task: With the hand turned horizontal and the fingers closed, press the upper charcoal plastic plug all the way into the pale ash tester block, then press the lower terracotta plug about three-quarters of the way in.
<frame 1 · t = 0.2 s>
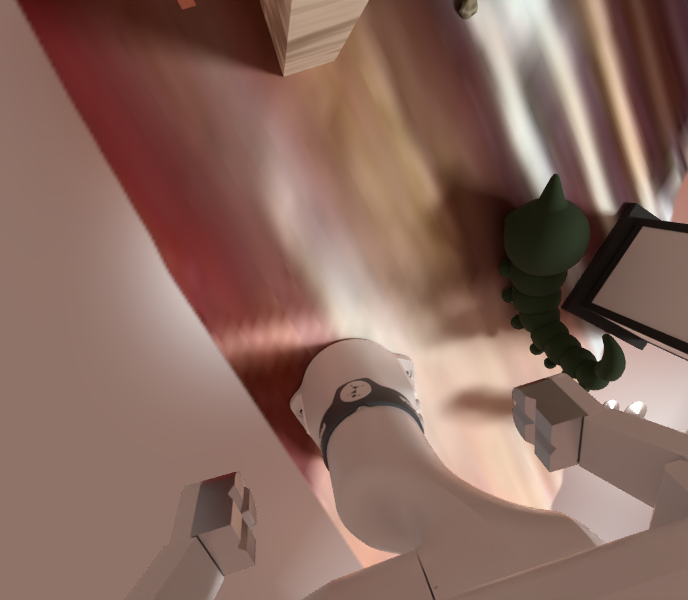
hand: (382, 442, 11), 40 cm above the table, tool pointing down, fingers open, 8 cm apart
lantern: (632, 279, 60), on the table
goblet set: (582, 405, 67), on the table
toy figurine: (517, 263, 56), on the table
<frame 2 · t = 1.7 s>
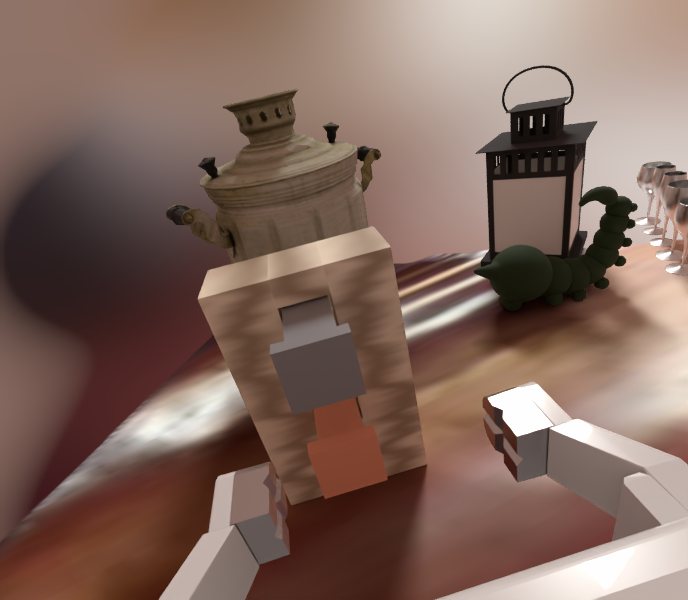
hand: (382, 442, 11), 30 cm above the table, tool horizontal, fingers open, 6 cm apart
lantern: (534, 251, 84), on the table
goblet set: (661, 243, 76), on the table
charcoal plug: (314, 340, 31), point 22 cm above the table, slide at 0.0 cm
toy figurine: (548, 300, 67), on the table
tester block: (354, 463, 47), on the table
terracotta plug: (340, 427, 36), point 12 cm above the table, slide at 0.0 cm
samovar: (328, 355, 67), on the table
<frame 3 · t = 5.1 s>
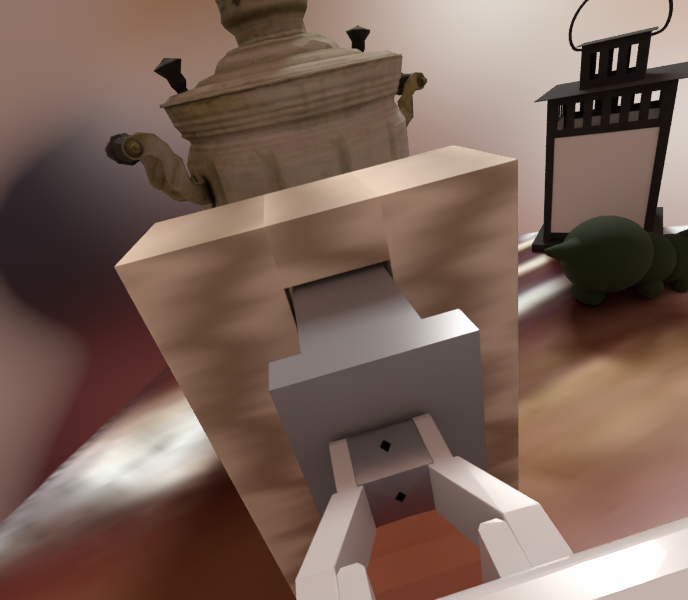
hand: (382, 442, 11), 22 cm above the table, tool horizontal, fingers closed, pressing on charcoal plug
lantern: (597, 232, 67), on the table
charcoal plug: (359, 348, 15), point 22 cm above the table, slide at 0.4 cm, touching gripper
toy figurine: (636, 291, 51), on the table
tester block: (400, 536, 30), on the table
terracotta plug: (399, 509, 20), point 12 cm above the table, slide at 0.0 cm
samovar: (347, 364, 51), on the table
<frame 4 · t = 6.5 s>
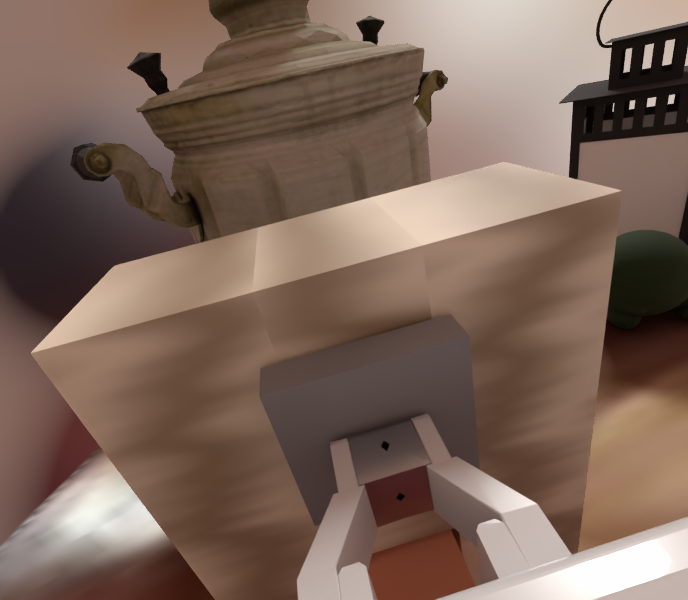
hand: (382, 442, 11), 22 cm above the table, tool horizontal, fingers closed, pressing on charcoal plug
lantern: (622, 244, 62), on the table
charcoal plug: (353, 352, 15), point 22 cm above the table, slide at 5.8 cm, touching gripper
toy figurine: (674, 312, 46), on the table
samovar: (354, 393, 46), on the table
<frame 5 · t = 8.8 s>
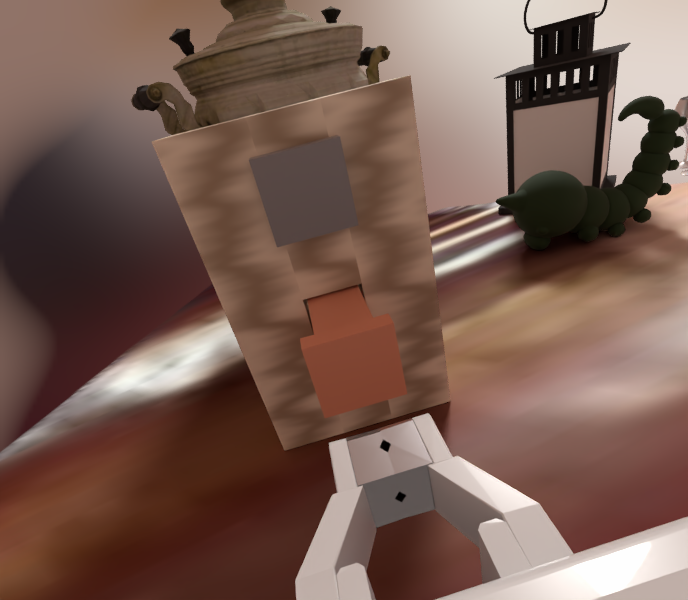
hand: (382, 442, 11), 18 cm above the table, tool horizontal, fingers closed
lantern: (557, 198, 75), on the table
charcoal plug: (301, 182, 29), point 22 cm above the table, slide at 5.8 cm
toy figurine: (579, 238, 59), on the table
tester block: (361, 403, 39), on the table
terracotta plug: (344, 334, 28), point 12 cm above the table, slide at 0.0 cm
samovar: (330, 302, 59), on the table
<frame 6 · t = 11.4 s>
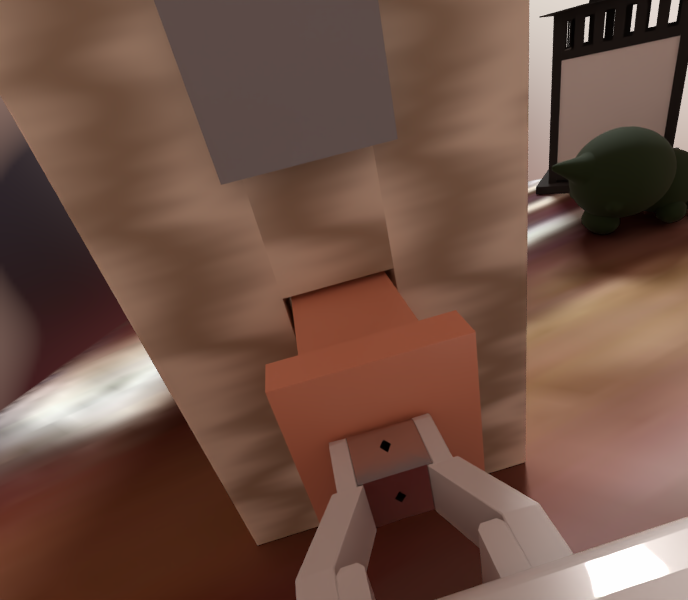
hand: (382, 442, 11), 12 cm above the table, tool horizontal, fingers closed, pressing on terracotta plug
lantern: (607, 175, 62), on the table
charcoal plug: (279, 69, 15), point 22 cm above the table, slide at 5.8 cm
toy figurine: (654, 220, 46), on the table
tester block: (380, 460, 25), on the table
terracotta plug: (357, 349, 15), point 12 cm above the table, slide at 1.2 cm, touching gripper
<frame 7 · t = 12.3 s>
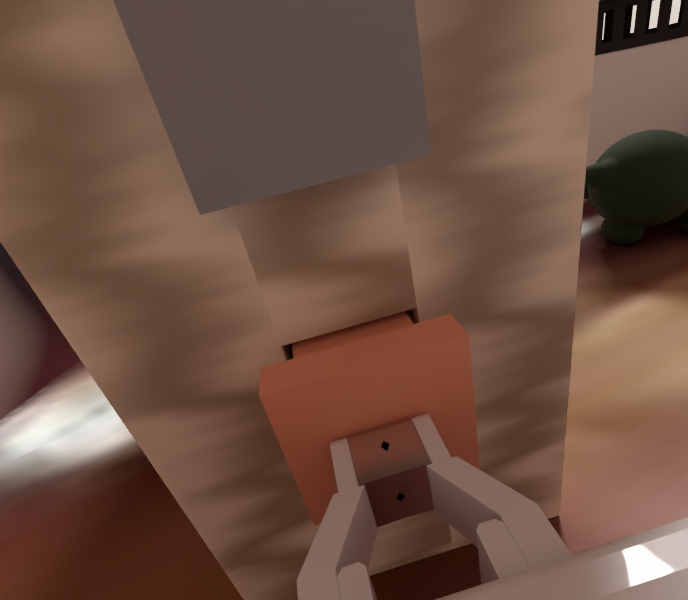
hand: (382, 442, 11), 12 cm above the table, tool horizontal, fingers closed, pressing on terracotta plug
lantern: (623, 180, 59), on the table
charcoal plug: (277, 65, 12), point 22 cm above the table, slide at 5.8 cm
toy figurine: (679, 229, 43), on the table
tester block: (392, 508, 22), on the table
terracotta plug: (353, 351, 15), point 12 cm above the table, slide at 4.4 cm, touching gripper
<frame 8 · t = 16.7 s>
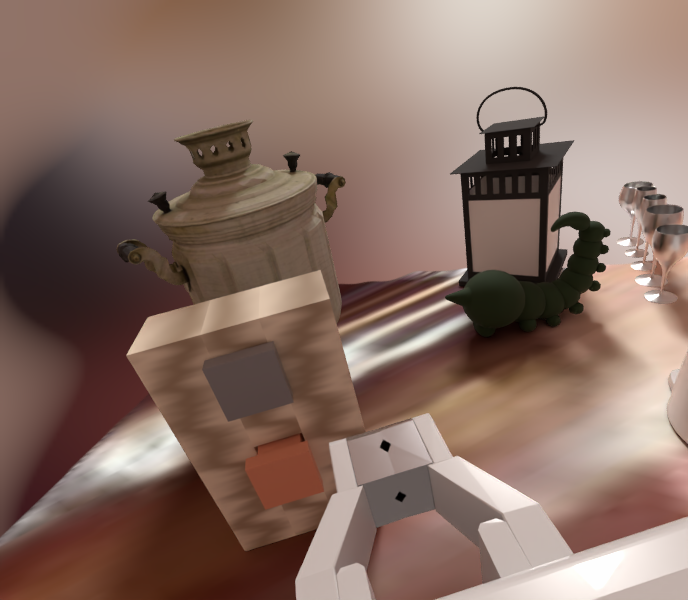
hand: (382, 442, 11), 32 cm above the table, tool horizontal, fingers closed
lantern: (513, 270, 82), on the table
goblet set: (642, 266, 74), on the table
charcoal plug: (252, 354, 35), point 22 cm above the table, slide at 5.8 cm
toy figurine: (522, 324, 66), on the table
tester block: (313, 504, 45), on the table
terracotta plug: (284, 441, 39), point 12 cm above the table, slide at 4.4 cm
samovar: (299, 381, 66), on the table
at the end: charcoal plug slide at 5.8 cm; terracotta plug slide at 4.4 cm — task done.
